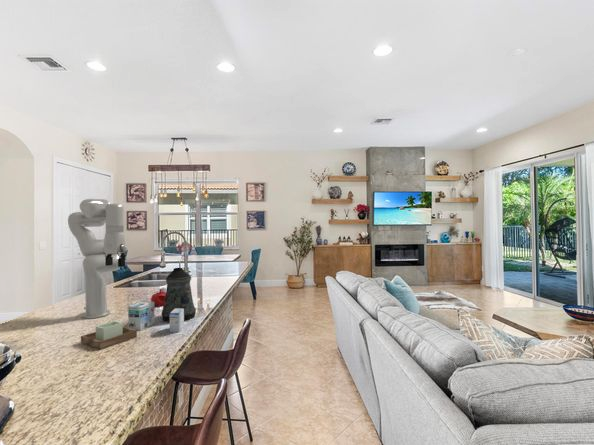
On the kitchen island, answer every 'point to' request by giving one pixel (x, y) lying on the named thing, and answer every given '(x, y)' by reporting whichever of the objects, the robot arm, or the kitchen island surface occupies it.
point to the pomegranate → (158, 298)
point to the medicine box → (176, 320)
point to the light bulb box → (141, 315)
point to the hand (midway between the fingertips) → (115, 266)
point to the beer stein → (178, 295)
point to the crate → (92, 342)
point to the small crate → (108, 330)
